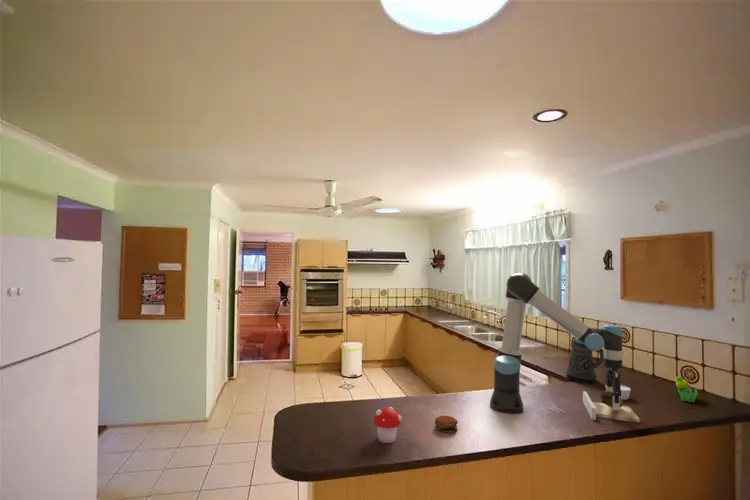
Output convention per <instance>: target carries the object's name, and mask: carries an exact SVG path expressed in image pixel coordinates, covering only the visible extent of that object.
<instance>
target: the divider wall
mask: <svg viewBox="0 0 750 500" xmlns="http://www.w3.org/2000/svg"><path fill="white" fill-rule="evenodd" d="M592 402H593V401H592V399H591V398H590V396H589V394H588V393H587V391H582V403H583V405H584V406H585V408H586V410H587V412H588V414H589V416H590V418H591V420H593V421H594V420H595V421H596V419H597V417H596V408H595V406H594V405H593V403H592Z"/></svg>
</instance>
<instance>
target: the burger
mask: <svg viewBox="0 0 750 500" xmlns="http://www.w3.org/2000/svg"><path fill="white" fill-rule="evenodd" d="M458 423H459V421H458V419H456V418H455V417H453V416H451V415H440V416H437V417H436V418H435V420H434V424H435V427H434V428H435V429H436V430H437V431H440V432H442V433H450V434H451V433H454V432H458V425H457V424H458Z"/></svg>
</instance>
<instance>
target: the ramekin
mask: <svg viewBox="0 0 750 500" xmlns="http://www.w3.org/2000/svg"><path fill="white" fill-rule="evenodd" d="M604 387H605V388H606V387H607V386H606V384H605V385H604ZM620 387H621V396H620V398H621V399H622V401H625V400H628V399H629V398H630V394H631V391H632V389H631V388H630V387H629V386H626V385H623V384H620ZM616 393H618V392H616Z"/></svg>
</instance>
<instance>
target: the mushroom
mask: <svg viewBox="0 0 750 500" xmlns="http://www.w3.org/2000/svg"><path fill="white" fill-rule="evenodd" d="M401 421H402V415H400V414H399V413H398V412H397V411H396V410H395V409H394V408H393V407H392V406H389V407H383V408H381V409H377V410H376V411H375V415H374V417H373V425H374V426H376V427H377V428H376V430H377V432H376V433H377V439H378V441H379V442H381V443H384V444H392V443H394V442H395V441H396V439H397V431H398V427H400V426H401V425H402V423H401Z"/></svg>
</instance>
